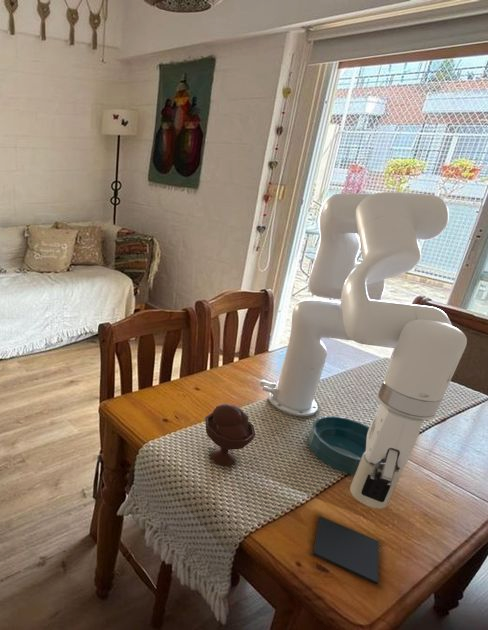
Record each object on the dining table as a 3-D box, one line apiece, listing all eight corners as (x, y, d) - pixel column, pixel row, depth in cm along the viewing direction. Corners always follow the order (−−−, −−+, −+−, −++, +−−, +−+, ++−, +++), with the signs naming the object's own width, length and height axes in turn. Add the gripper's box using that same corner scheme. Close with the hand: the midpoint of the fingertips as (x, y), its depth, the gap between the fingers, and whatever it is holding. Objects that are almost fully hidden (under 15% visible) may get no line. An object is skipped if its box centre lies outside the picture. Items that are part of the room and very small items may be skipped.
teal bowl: (303, 459, 104) (308, 442, 102) (311, 424, 116) (316, 408, 114) (384, 489, 96) (392, 472, 94) (384, 448, 108) (391, 432, 106)
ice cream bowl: (242, 482, 97) (255, 427, 90) (192, 462, 102) (202, 408, 96) (251, 454, 105) (265, 402, 99) (205, 437, 110) (215, 386, 104)
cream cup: (348, 498, 76) (362, 464, 73) (350, 478, 80) (363, 445, 77) (388, 514, 73) (403, 479, 70) (387, 492, 77) (402, 459, 74)
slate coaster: (312, 554, 81) (313, 552, 80) (319, 517, 88) (319, 515, 88) (377, 584, 76) (378, 582, 75) (377, 543, 83) (378, 540, 83)
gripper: (380, 367, 77) (350, 449, 84) (379, 416, 64) (344, 508, 71) (433, 381, 73) (397, 465, 80) (444, 436, 60) (400, 531, 67)
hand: (372, 484), depth 75 cm, fingers closed on cream cup, 5 cm apart
